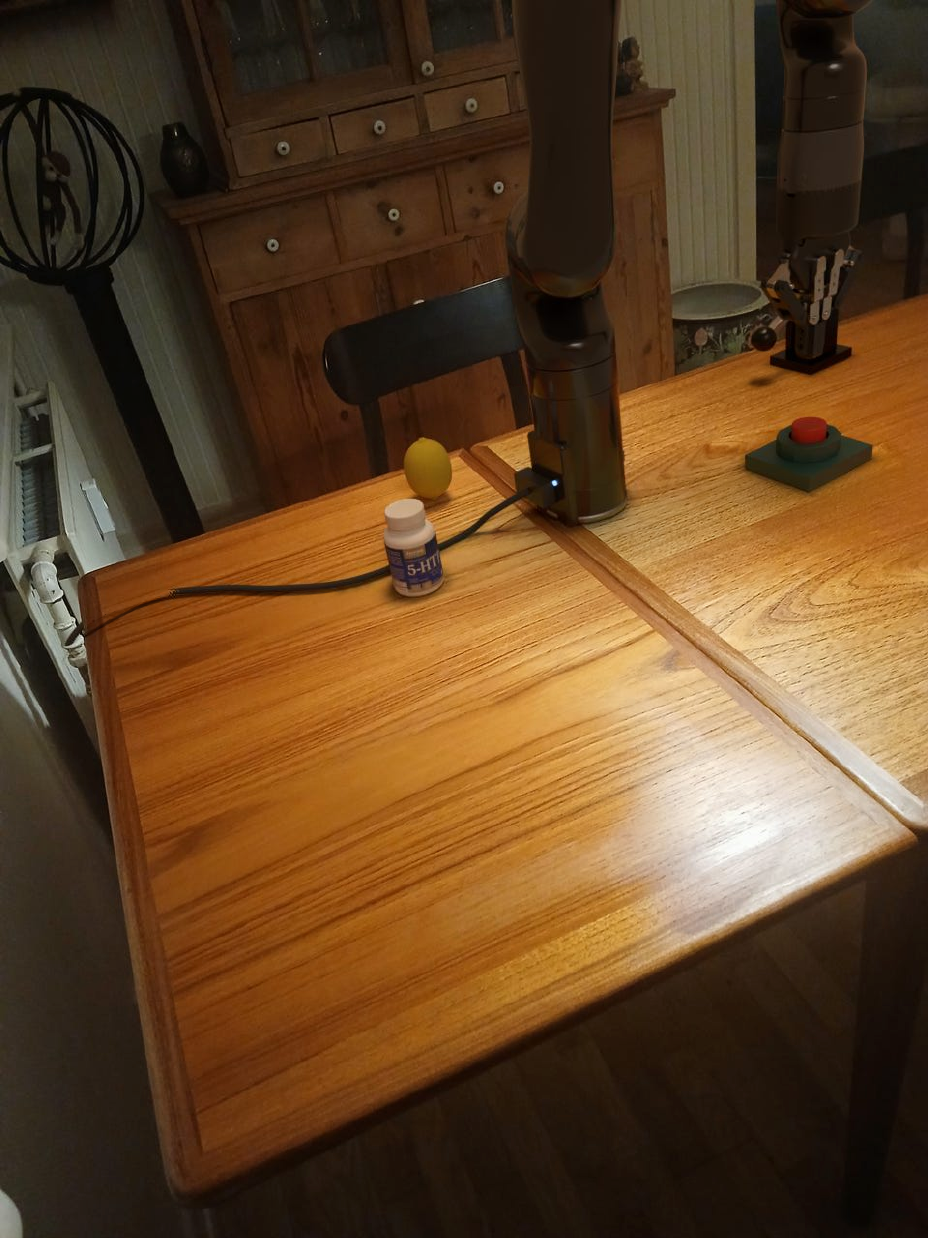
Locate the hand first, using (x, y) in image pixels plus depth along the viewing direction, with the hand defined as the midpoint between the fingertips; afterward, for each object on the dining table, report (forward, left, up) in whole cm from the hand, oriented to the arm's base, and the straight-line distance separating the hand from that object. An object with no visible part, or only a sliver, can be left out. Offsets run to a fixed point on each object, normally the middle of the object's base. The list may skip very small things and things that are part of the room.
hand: (808, 355), depth 99 cm
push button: (0, 0, -9) cm, 9 cm away
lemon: (-33, +27, -13) cm, 44 cm away
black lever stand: (+24, +20, -12) cm, 33 cm away
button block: (0, 0, -12) cm, 12 cm away
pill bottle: (-44, +12, -13) cm, 47 cm away
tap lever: (+20, +20, -6) cm, 29 cm away
